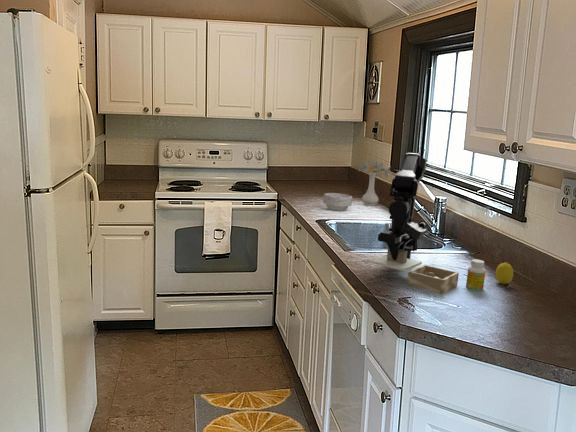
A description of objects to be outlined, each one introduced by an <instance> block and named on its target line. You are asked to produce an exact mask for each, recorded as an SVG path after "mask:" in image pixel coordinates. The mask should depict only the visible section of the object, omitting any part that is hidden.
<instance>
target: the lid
mask: <svg viewBox="0 0 576 432" xmlns="http://www.w3.org/2000/svg"><path fill="white" fill-rule="evenodd" d="M407 252H408V251H406V250H401V249H399V252H398V256H397V259H396V260H393V258H392V256H391V253H390V250H389V248H387V254H384V255H383V256H380V257H377V258H374V259H372V260H370V264H373V265H378V266H381V267H385V268H388V269H389V268H390V269H394V270H398V271H402V272H406V271H410V270H412V269H415V267H416V268H417V267H419V266H420V265H421V266H422V265H423V263H422V261H419V260H416V259H411V258H410V259H407Z"/></svg>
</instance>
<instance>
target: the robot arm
mask: <svg viewBox="0 0 576 432" xmlns="http://www.w3.org/2000/svg"><path fill="white" fill-rule="evenodd" d="M400 168H401V170H400V171H398V172H396V174H395V176H394V177H393V178H392V181H391V185H390V191H389V197H393V201H392V202H391V203H390V204H389V206H388V212H389V220H391V224H390V225H391V226H390V227H388V230H385V231H380V232H379V233H378V234H377V241H379V242H382V243H386V246H387V247H388V248H389V250H390V253H391V256H392V258H393V260H396V259H397V256H398V252H399V249H401V250H406V251H408V252H407V259H411V254H412V252H415V251H418V243H419V242H418V241H419V240H422V239H423V237H424V235H425V234H427V233H428V231H427V224H426V223H425V222H419V223H415V222H413V220H414V219H413V218H414V217H413V216H414V211H415V205H416V197H417V194H418V188H419V183H420V182H421V180H423V178H424V173H426V170H427V159H425V158H424V157H422V156H421V154H419V153H417V152H414V153H413V152H407V153H405V156H403V157H402V159H401V165H400ZM388 248H387V249H388Z"/></svg>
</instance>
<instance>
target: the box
mask: <svg viewBox="0 0 576 432" xmlns="http://www.w3.org/2000/svg"><path fill="white" fill-rule="evenodd" d="M407 271H408V272H407V281H406V283H407V284H406V285H407V286H409V287H414V288H419V289H422V290H425V291H429V292H434V293H436V294H440V295H443V294H445V293H447V292H448V291H451V290H452V289H454V288H456V287H457V286H458V283H459V275H460V272H457V271H454V270H449V269H444V268H440V267H437V266H436V267H435V266H431V265H428V264H421V266H420V265H419V266H417V267H416V268H415V267H414V268H412V269H410V270H407ZM428 272H433V273H434V274H435V276H436V277H439V278H436V277H432V276H428V275H426V273H428Z"/></svg>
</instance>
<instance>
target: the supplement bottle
mask: <svg viewBox="0 0 576 432" xmlns="http://www.w3.org/2000/svg"><path fill="white" fill-rule="evenodd" d="M485 279H486V269H485V261H484V260H482V259H476V258H475V259H474V258H473V259H471V261H470V266H468V269H467V276H466V281H465V282H466V283H465V288H466V289H468V290H469V291H473V292H474V291H475V292H477V291H478V292H482V291H484V286H485V285H484V284H485Z"/></svg>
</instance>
